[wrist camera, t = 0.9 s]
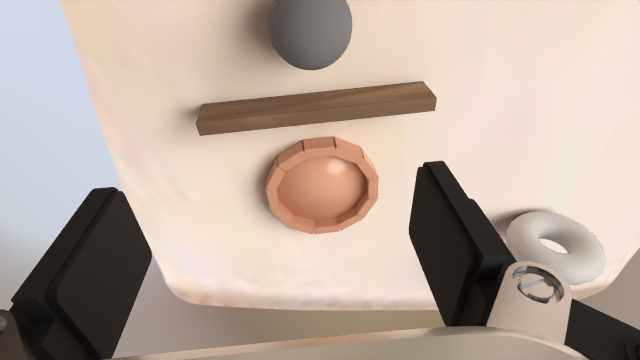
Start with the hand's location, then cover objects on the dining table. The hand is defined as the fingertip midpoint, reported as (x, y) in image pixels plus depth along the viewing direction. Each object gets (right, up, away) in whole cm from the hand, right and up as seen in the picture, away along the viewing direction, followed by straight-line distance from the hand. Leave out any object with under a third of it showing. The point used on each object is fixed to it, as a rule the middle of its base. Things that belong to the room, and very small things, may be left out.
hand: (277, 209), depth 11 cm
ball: (+1, +12, +14) cm, 18 cm away
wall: (+1, +8, +21) cm, 22 cm away
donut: (+28, -3, +33) cm, 44 cm away
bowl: (+2, +1, +27) cm, 27 cm away
